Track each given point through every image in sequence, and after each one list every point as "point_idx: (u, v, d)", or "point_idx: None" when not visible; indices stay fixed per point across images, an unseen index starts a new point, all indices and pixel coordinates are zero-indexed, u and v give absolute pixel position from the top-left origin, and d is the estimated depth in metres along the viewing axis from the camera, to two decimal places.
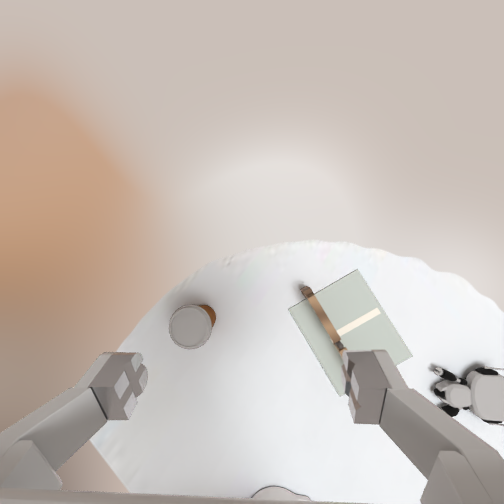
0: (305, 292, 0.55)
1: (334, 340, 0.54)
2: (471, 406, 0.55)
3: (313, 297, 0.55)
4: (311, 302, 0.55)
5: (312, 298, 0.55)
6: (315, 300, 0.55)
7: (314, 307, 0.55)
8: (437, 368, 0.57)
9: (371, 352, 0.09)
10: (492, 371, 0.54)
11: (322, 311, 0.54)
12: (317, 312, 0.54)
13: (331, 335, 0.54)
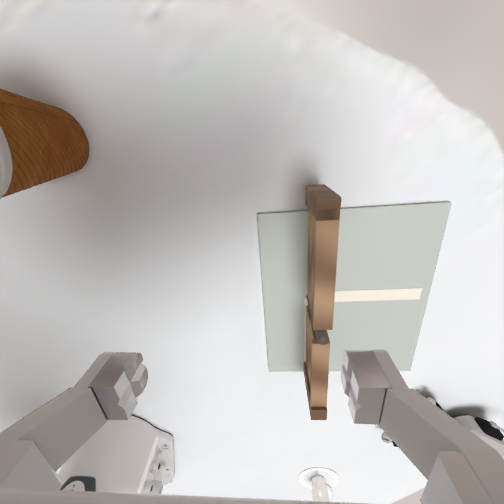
0: (321, 202, 0.19)
1: (316, 325, 0.24)
2: None
3: (333, 224, 0.20)
4: (320, 234, 0.20)
5: (329, 225, 0.20)
6: (332, 233, 0.20)
7: (320, 248, 0.21)
8: (431, 400, 0.35)
9: (371, 352, 0.09)
10: (499, 434, 0.35)
11: (332, 264, 0.21)
12: (319, 261, 0.21)
13: (318, 315, 0.23)
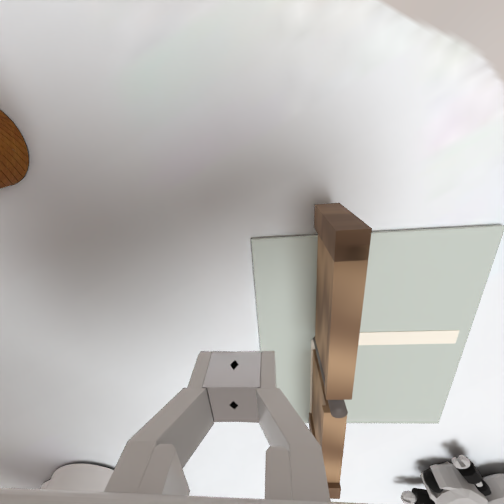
0: (342, 236, 0.13)
1: (331, 394, 0.18)
2: None
3: (358, 266, 0.14)
4: (339, 279, 0.14)
5: (352, 268, 0.14)
6: (357, 279, 0.14)
7: (338, 298, 0.14)
8: (464, 460, 0.28)
9: (259, 353, 0.09)
10: None
11: (354, 319, 0.15)
12: (337, 315, 0.15)
13: (332, 382, 0.17)
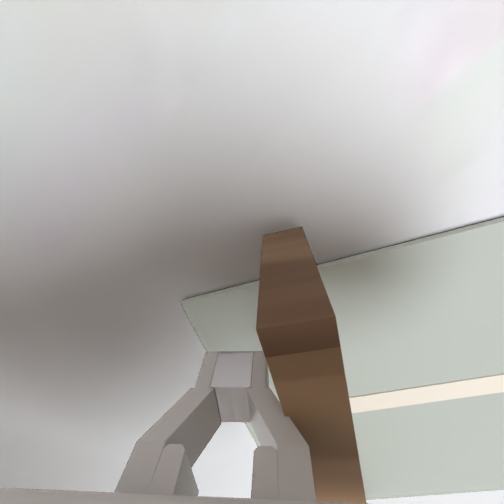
0: (274, 338, 0.06)
1: None
2: None
3: (327, 386, 0.06)
4: (295, 409, 0.07)
5: (315, 390, 0.06)
6: (332, 406, 0.07)
7: (303, 436, 0.07)
8: None
9: (251, 353, 0.09)
10: None
11: (346, 464, 0.08)
12: None
13: None
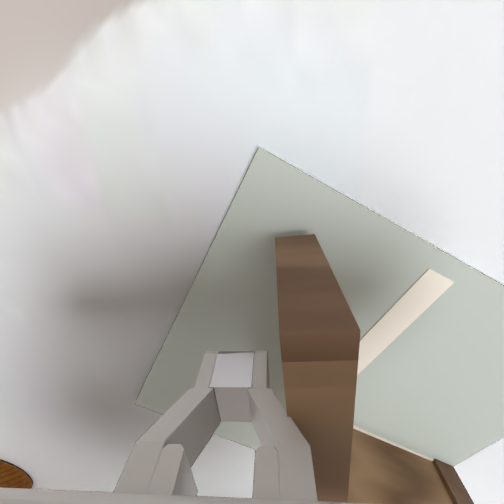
0: (295, 344, 0.06)
1: None
2: None
3: (335, 396, 0.06)
4: (299, 415, 0.07)
5: (323, 399, 0.06)
6: (336, 415, 0.07)
7: None
8: None
9: (252, 353, 0.09)
10: None
11: (336, 472, 0.08)
12: None
13: None
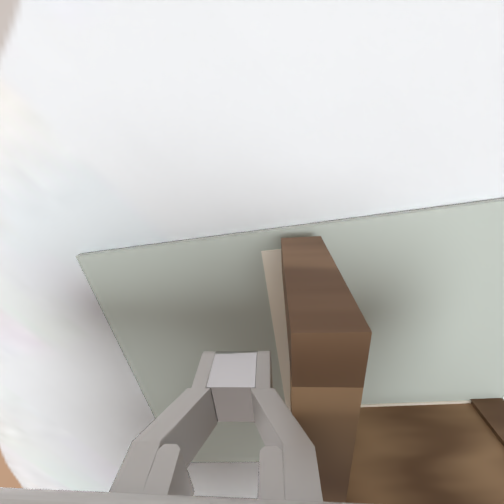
0: (306, 344, 0.06)
1: None
2: None
3: (342, 397, 0.06)
4: (305, 414, 0.07)
5: (330, 399, 0.06)
6: (341, 416, 0.07)
7: None
8: None
9: (255, 353, 0.09)
10: None
11: (337, 472, 0.08)
12: None
13: None
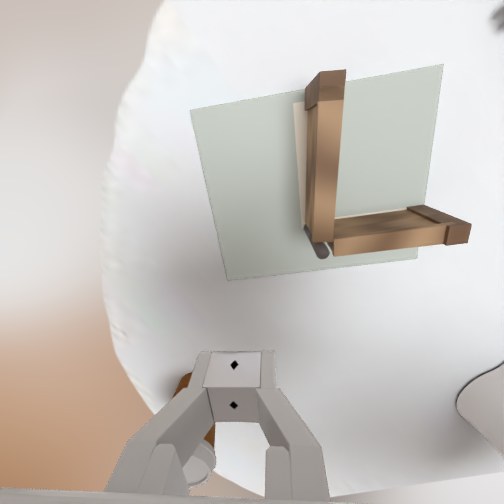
0: (324, 77, 0.17)
1: (316, 236, 0.22)
2: None
3: (336, 106, 0.18)
4: (322, 118, 0.18)
5: (332, 107, 0.18)
6: (336, 118, 0.18)
7: (321, 137, 0.19)
8: None
9: (259, 353, 0.09)
10: None
11: (334, 158, 0.19)
12: (320, 154, 0.19)
13: (317, 224, 0.22)
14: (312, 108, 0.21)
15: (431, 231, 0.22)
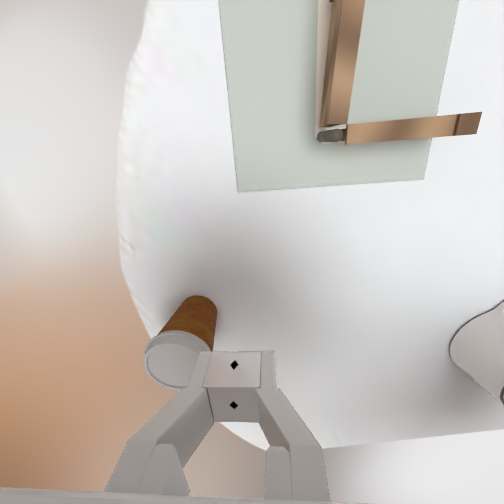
0: None
1: (332, 116, 0.23)
2: None
3: None
4: None
5: None
6: None
7: (346, 2, 0.20)
8: None
9: (259, 353, 0.09)
10: None
11: (356, 27, 0.20)
12: (344, 22, 0.20)
13: (334, 102, 0.23)
14: None
15: (442, 120, 0.23)
